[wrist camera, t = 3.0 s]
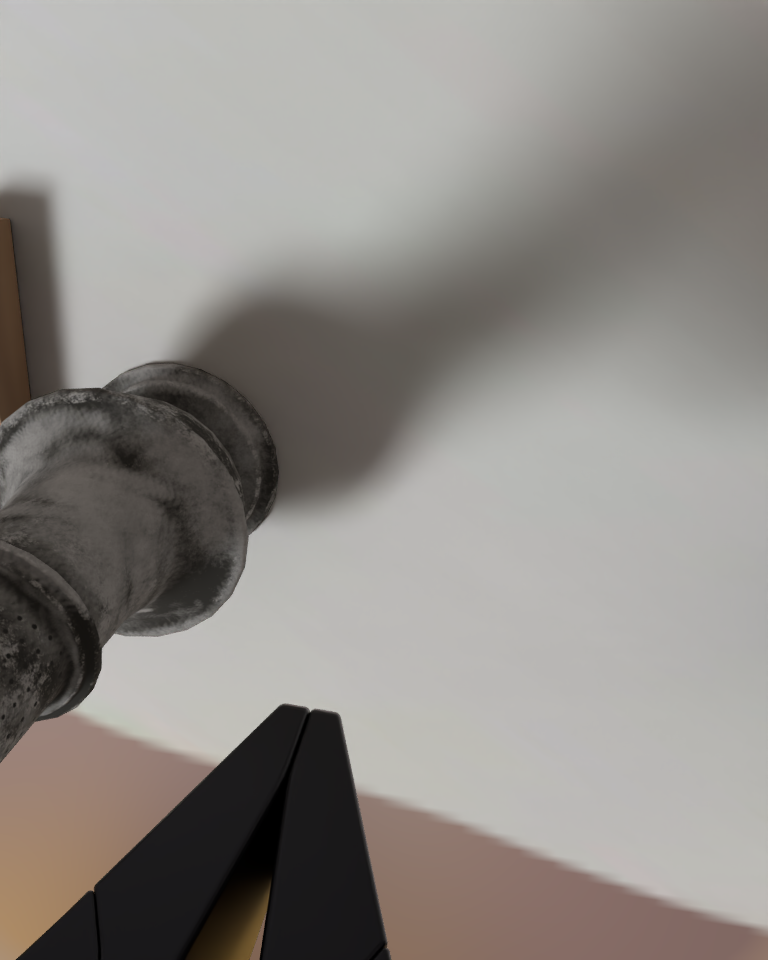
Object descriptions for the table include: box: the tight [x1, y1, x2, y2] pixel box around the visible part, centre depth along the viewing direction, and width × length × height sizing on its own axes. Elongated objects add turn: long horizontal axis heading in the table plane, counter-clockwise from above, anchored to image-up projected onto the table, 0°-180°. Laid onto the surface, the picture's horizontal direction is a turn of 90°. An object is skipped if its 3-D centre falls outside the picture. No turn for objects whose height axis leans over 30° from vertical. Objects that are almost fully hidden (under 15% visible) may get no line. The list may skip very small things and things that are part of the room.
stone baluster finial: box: [0, 363, 279, 763], centre depth 11 cm, size 6×6×12 cm
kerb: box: [0, 218, 31, 425], centre depth 16 cm, size 1×11×1 cm, turn 173°
